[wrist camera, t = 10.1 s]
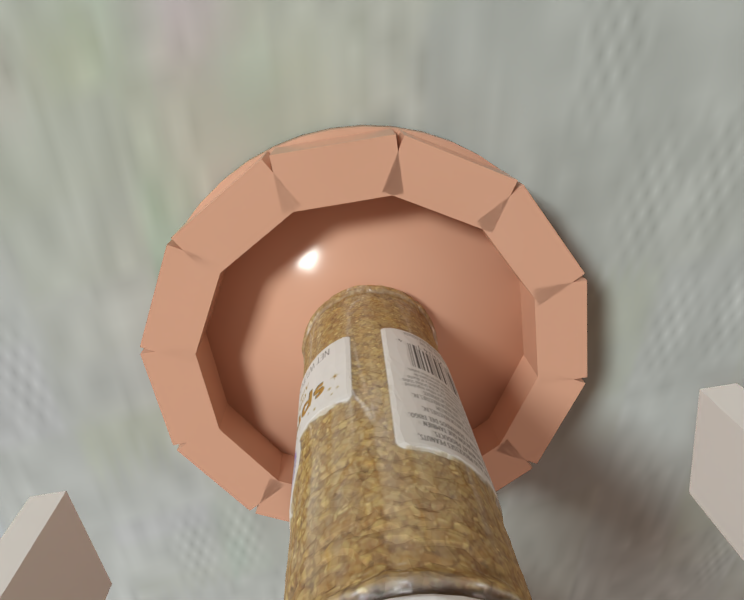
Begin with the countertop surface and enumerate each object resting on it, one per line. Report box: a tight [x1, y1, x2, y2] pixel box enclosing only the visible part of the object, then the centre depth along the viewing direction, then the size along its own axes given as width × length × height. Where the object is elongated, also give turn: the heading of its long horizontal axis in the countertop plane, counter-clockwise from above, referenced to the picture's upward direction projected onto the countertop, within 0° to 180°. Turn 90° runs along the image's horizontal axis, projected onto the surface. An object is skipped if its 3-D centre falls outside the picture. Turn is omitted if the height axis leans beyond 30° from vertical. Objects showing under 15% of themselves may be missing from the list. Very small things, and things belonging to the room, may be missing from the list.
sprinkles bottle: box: [284, 285, 532, 600], centre depth 13 cm, size 5×5×13 cm
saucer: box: [140, 125, 587, 521], centre depth 19 cm, size 14×14×2 cm
